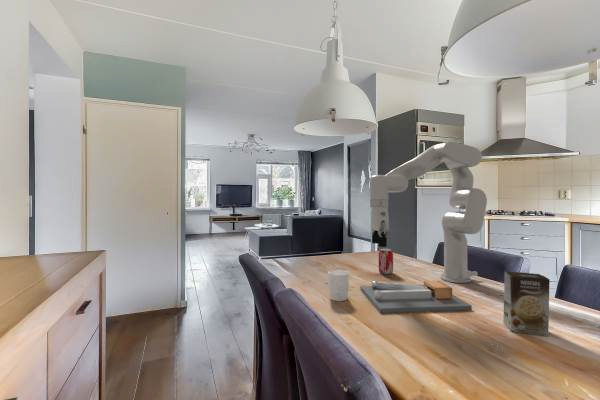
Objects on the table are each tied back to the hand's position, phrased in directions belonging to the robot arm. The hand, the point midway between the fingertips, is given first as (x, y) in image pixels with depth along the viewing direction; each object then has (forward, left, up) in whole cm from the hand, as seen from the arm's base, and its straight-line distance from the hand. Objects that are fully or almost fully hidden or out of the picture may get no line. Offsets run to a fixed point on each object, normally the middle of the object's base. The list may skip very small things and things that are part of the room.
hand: (379, 244), depth 125 cm
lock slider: (-17, +16, -16) cm, 29 cm away
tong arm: (-4, +10, -16) cm, 20 cm away
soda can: (-11, -22, -18) cm, 31 cm away
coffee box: (-29, +42, -18) cm, 54 cm away
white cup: (+20, +12, -18) cm, 30 cm away
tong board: (-7, +15, -18) cm, 25 cm away
